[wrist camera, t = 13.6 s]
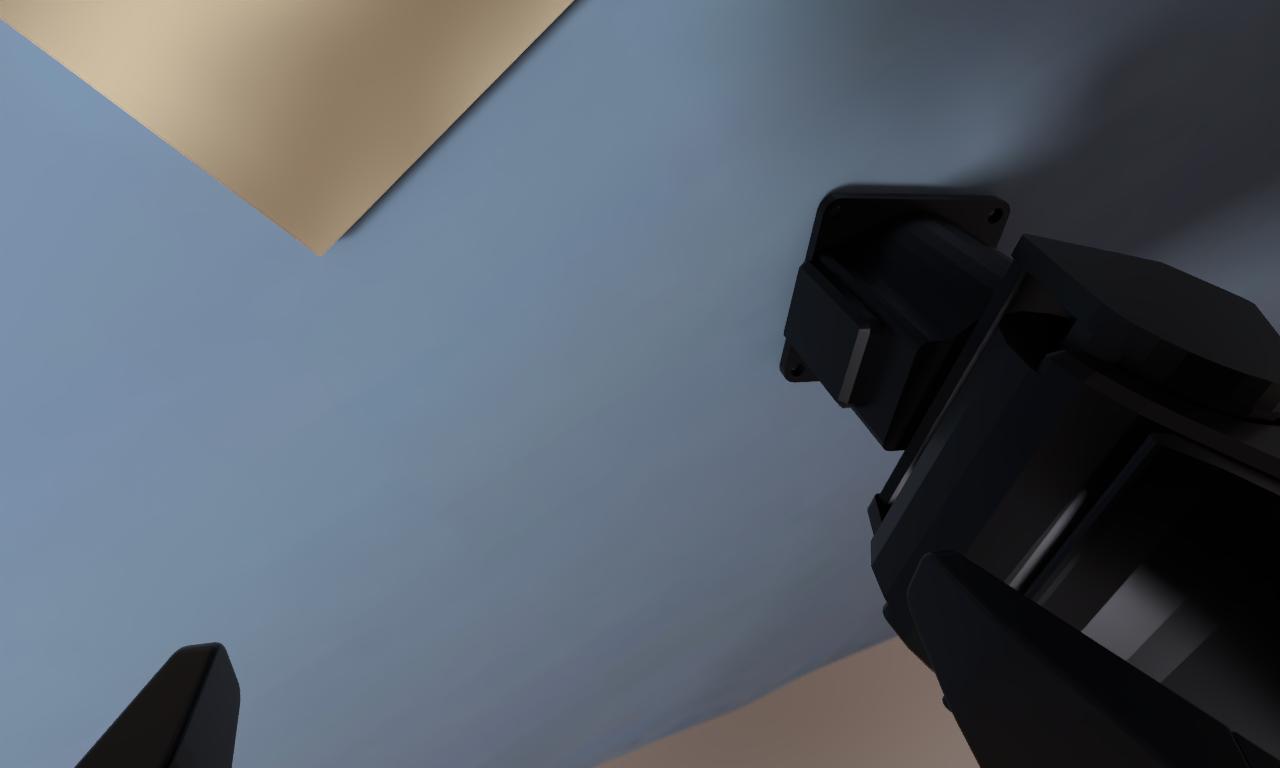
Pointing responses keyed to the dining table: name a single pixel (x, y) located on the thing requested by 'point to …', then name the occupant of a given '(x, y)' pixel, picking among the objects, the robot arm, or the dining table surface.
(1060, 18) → the dining table surface
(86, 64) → the plate
